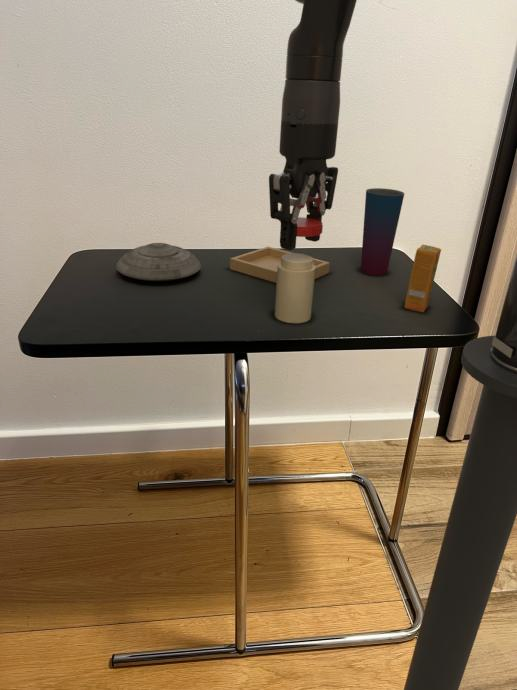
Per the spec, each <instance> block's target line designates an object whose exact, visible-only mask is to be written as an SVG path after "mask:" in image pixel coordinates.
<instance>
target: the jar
mask: <svg viewBox="0 0 517 690" xmlns="http://www.w3.org/2000/svg"><path fill="white" fill-rule="evenodd" d="M313 258H314V257H312V256H311V255H308V254H305V253H296V252H291V253H290V254H285V255H283V256H281V262H280V263H278V266H277V282H276V283H275V284H276V285H275V302H274V317H275V319H276V320H278V321H280V322H283V323H288V324H303V323H306V322H309V321H310V320H311V319H312V311H313V301H314V290H315V282H316V281H315V280H316V279H315V270H316V267H315V265H314V264H313V263H314V262H313Z"/></svg>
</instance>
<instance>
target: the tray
mask: <svg viewBox="0 0 517 690" xmlns="http://www.w3.org/2000/svg"><path fill="white" fill-rule="evenodd" d="M290 253H292V252H290V251H288V250H283V249H279V248H275V247H271V246H265V247H262V248H259V249H256V250H253V251H249V252H246V253H243V254H240V255H237V256H234V257H230V258H229V269H230V270H232V271H235V272H237V273H241V274H244V275H248V276H251V277H255V278H258V279H262V280H265V281H267V282H271V283H275V284H276V282H277V266H278V263H280V262H281V256H283V255H285V254H290ZM312 258H313V262H314V263H313V264H314V265H315V267H316V270H315V280H317V279H318V278H321V277H323V276H325V275H327V274H329V273H330V265H331V264H330V263H331V262H329V261H326V260H321V259H317V258H314V257H312Z"/></svg>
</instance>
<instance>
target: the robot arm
mask: <svg viewBox="0 0 517 690" xmlns="http://www.w3.org/2000/svg"><path fill="white" fill-rule="evenodd" d="M294 1H295V2H297V3H299V4H301V5H302V10H301V16H300V20H299V23H298V25H296V26H295V28H293V30H292V31H291V32H290V34H289V36H288V40H287V47H286V60H285V61H286V62H285V81H284V88H283V93H282V97H281V98H282V100H281V113H280V114H281V116H280V131H279V134H280V135H279V148H278V149H279V150H278V151H279V154H280V155H281V156H282V157H284V158H285V164H284V168H283V171H282V172H281V173H271V174H269V176H268V190H269V191H268V192H269V212H270V213H269V215H270V218H271V219H272V220H274V219H275V220H277V221H279V222H280V231H279V246H280V248H281V249H282V250H283V249H284V250H286V251H293V250H296V248H297V224H296V222H297V219H298V217H300V212H301V210H302V209H304V208H305V206H306V212H307V213H308V214H306V217H305V218H312V219H317V220H319V221H321V222H322V221H323V216H325V215H326V211H327V210H328V211H329V210H331V209H332V207H333V203H334V197H335V191H336V186H337V180H338V175H339V168H338V167H337V166H329V165H328V164H327V160H331V159H333V158H334V157H335V156H336V151H337V140H338V128H339V119H340V110H341V109H340V108H341V82H340V81H341V77H342V69H343V68H342V67H343V56H344V44H345V41H346V38H347V34H348V32H349V30H350V26H351V23H352V19H353V16H354V11H355V8H356V4H357V1H358V0H294ZM279 204H280V205H281V206H280V209H279ZM291 207H292V210H291ZM304 239H305V240H306V241H310V242H314V243H315V242H316V243H317V242H319V241H320V239H321V234H320V235H317V236H311V237H304ZM507 285H508V286H507V289H506V293H505V297H504V301H503V305H502V309H501V312H500V316H499V320H498V324H497V328H496V332H495V335H494V336H495V337H494V338H493V341H492V345H493V346H492V348H491V351H490V357H491V359H492V360H493V361H494V362H495V363H496V364H498V365H499V366H501V367H502V368H504V369H506V370H509V371H511V372H513V373H516V374H517V254H516V256H515V259H514V262H513V266H512V269H511V274H510V278H509V281H508V284H507Z"/></svg>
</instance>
